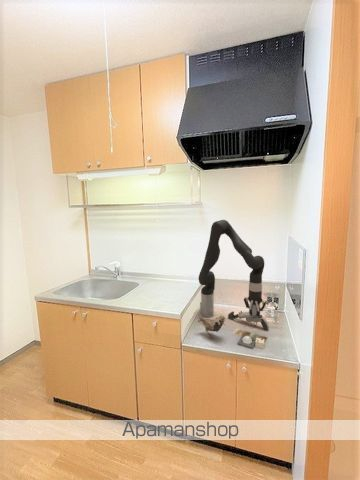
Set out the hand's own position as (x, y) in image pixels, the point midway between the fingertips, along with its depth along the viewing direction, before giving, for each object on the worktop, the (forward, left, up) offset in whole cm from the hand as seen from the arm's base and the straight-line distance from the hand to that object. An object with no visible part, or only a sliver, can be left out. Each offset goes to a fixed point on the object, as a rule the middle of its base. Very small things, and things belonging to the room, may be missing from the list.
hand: (254, 315), depth 147 cm
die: (+6, -8, -15) cm, 18 cm away
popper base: (-2, -9, -15) cm, 17 cm away
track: (-3, 0, -15) cm, 15 cm away
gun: (-8, +13, -15) cm, 22 cm away
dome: (-1, -9, -15) cm, 17 cm away
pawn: (0, 0, -1) cm, 1 cm away
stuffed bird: (-23, -14, -15) cm, 31 cm away
